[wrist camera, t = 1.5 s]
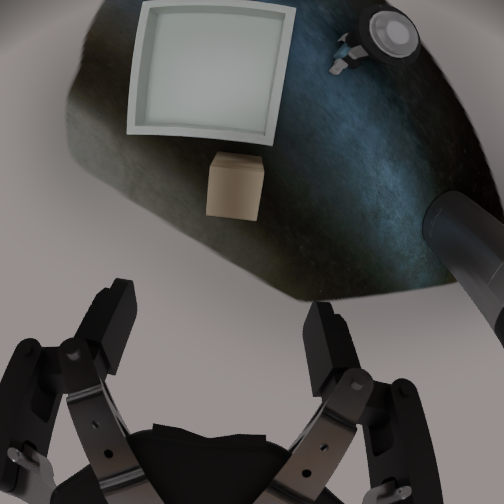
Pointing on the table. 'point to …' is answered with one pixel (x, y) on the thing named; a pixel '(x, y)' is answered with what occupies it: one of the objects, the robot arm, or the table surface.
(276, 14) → the tray
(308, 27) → the table surface
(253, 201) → the pine block
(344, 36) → the push button
